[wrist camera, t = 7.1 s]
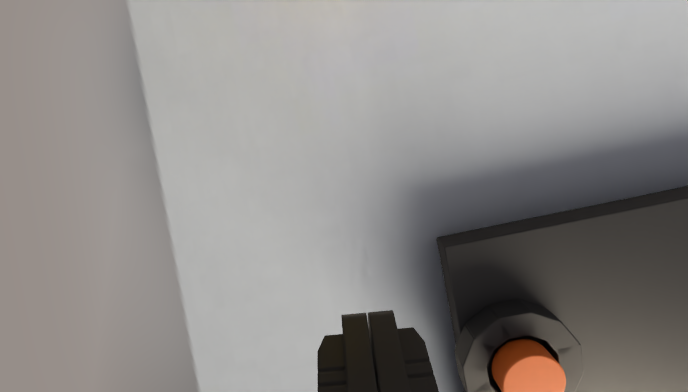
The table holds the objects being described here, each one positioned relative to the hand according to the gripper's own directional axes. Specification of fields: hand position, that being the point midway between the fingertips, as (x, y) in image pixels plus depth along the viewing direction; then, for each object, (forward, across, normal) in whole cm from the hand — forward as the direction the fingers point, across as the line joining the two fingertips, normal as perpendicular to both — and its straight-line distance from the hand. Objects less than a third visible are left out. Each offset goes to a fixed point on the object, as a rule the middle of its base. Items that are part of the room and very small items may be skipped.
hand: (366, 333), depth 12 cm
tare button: (+5, -8, +9) cm, 13 cm away
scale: (+8, -14, +9) cm, 18 cm away
